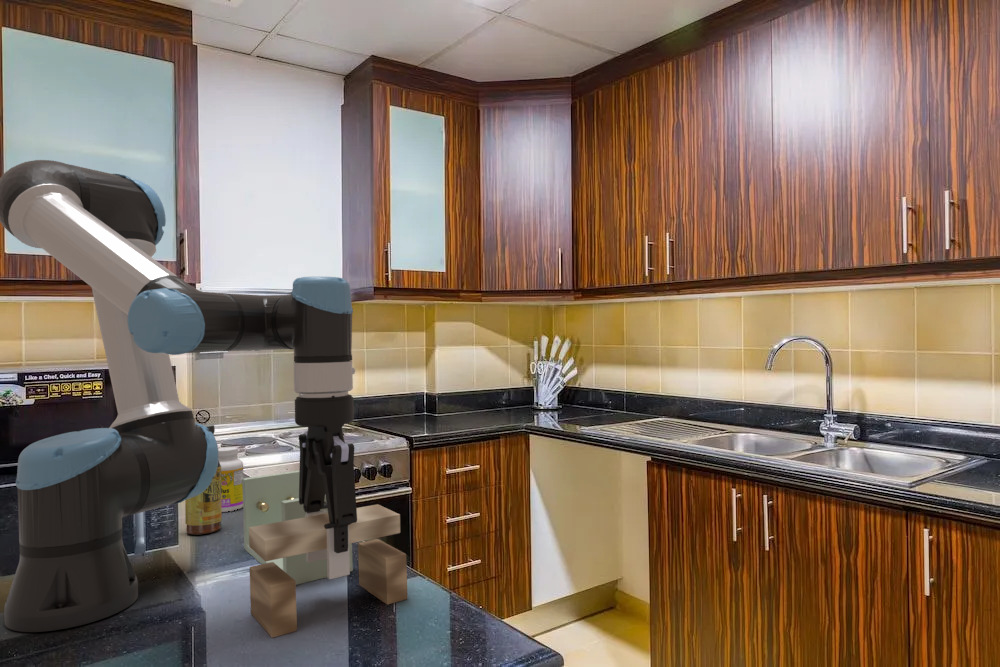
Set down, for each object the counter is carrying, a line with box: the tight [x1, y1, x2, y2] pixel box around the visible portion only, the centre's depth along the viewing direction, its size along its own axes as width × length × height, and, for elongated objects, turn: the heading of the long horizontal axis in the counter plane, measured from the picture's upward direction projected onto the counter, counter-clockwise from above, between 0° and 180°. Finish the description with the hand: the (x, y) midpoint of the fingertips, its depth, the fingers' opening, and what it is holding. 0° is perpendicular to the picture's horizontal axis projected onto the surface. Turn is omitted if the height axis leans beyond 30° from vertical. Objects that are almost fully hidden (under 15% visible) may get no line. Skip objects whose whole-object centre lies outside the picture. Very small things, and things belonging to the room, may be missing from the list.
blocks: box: [249, 538, 408, 638], centre depth 87 cm, size 18×9×6 cm, turn 126°
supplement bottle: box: [218, 446, 244, 513], centre depth 141 cm, size 7×7×13 cm
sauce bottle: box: [184, 424, 223, 536], centre depth 125 cm, size 6×6×20 cm
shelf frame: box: [242, 469, 354, 586], centre depth 107 cm, size 23×10×12 cm, turn 36°
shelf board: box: [249, 503, 401, 562], centre depth 88 cm, size 18×7×2 cm, turn 126°
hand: (327, 567), depth 88 cm, fingers closed on shelf board, 7 cm apart
